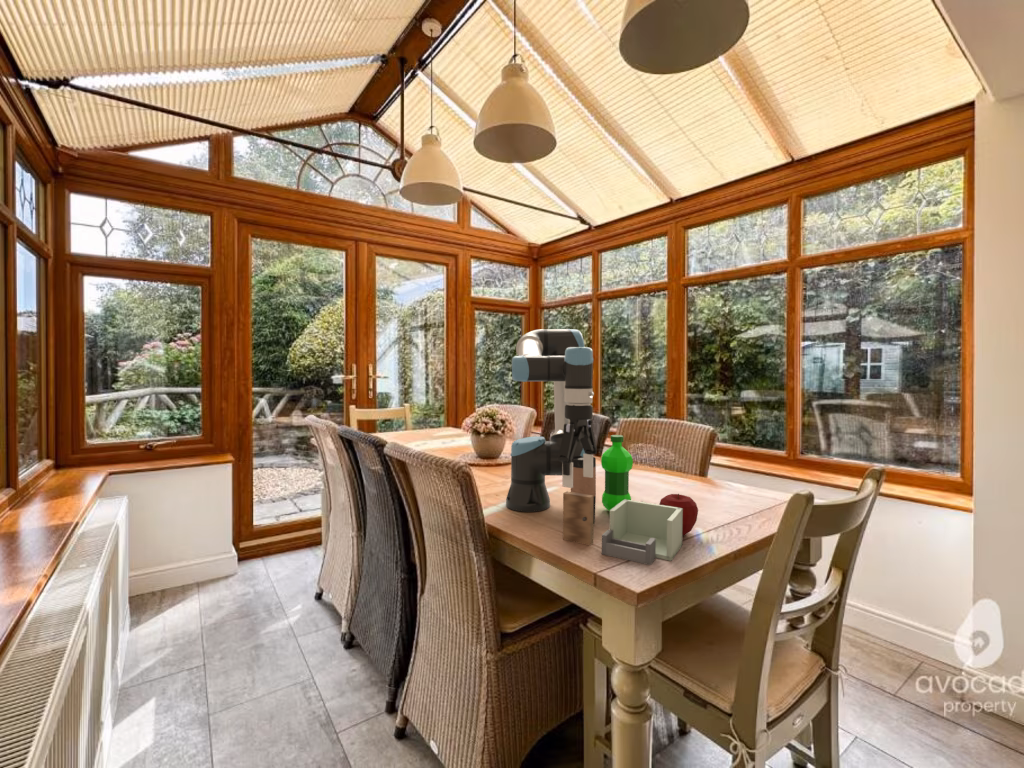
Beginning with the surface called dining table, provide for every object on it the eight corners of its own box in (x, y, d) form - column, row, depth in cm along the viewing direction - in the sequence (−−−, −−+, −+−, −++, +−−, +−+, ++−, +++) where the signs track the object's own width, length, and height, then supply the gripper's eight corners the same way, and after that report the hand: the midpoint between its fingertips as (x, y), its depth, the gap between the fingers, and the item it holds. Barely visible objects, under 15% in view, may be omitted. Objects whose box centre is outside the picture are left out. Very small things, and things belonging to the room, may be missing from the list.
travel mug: (580, 528, 139) (580, 461, 138) (565, 520, 146) (565, 456, 145) (600, 524, 143) (601, 458, 142) (585, 516, 149) (586, 454, 149)
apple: (653, 527, 140) (653, 488, 139) (689, 527, 140) (690, 488, 139) (664, 540, 129) (664, 498, 128) (703, 541, 129) (704, 499, 128)
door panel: (562, 540, 130) (562, 493, 129) (566, 537, 132) (566, 491, 131) (589, 546, 125) (589, 498, 125) (593, 542, 128) (593, 495, 127)
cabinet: (601, 554, 120) (601, 515, 120) (623, 533, 134) (623, 499, 134) (666, 568, 111) (666, 527, 111) (682, 545, 126) (682, 508, 125)
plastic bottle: (613, 517, 148) (614, 439, 147) (594, 508, 158) (595, 434, 157) (638, 513, 152) (639, 437, 151) (619, 504, 162) (619, 432, 161)
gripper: (572, 408, 115) (571, 494, 115) (608, 401, 136) (607, 474, 137) (544, 406, 119) (544, 489, 119) (584, 401, 140) (583, 471, 141)
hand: (578, 481), depth 128 cm, fingers open, 13 cm apart
